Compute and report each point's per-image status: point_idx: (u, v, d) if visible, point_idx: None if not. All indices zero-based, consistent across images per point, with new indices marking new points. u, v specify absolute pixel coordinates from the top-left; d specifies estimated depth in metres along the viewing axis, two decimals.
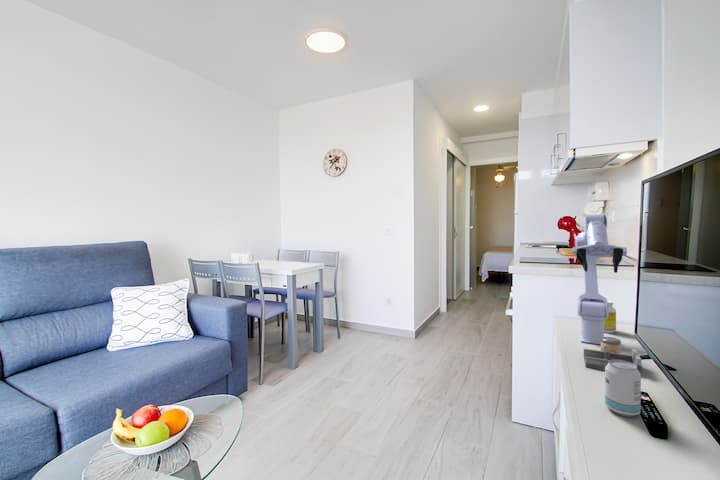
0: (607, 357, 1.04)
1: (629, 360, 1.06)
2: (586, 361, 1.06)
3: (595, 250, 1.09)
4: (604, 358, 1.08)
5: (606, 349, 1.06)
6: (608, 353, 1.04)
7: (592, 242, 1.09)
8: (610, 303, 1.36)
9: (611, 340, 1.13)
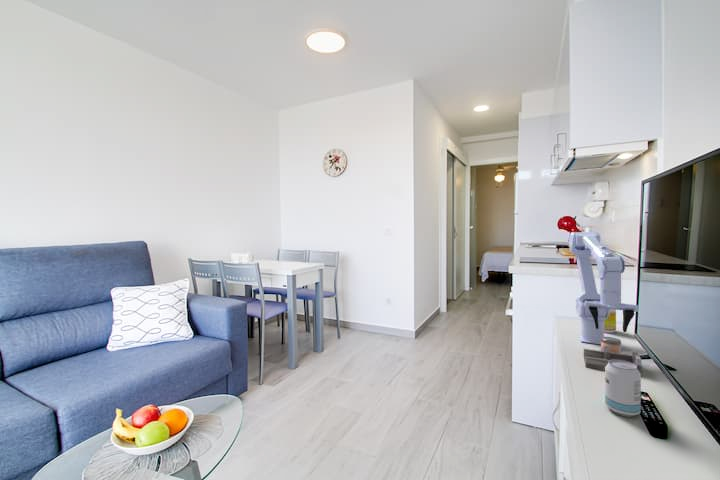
0: (607, 357, 1.04)
1: (629, 360, 1.06)
2: (586, 361, 1.06)
3: None
4: (604, 358, 1.08)
5: (606, 349, 1.06)
6: (608, 353, 1.04)
7: (605, 301, 1.11)
8: None
9: (611, 339, 1.13)
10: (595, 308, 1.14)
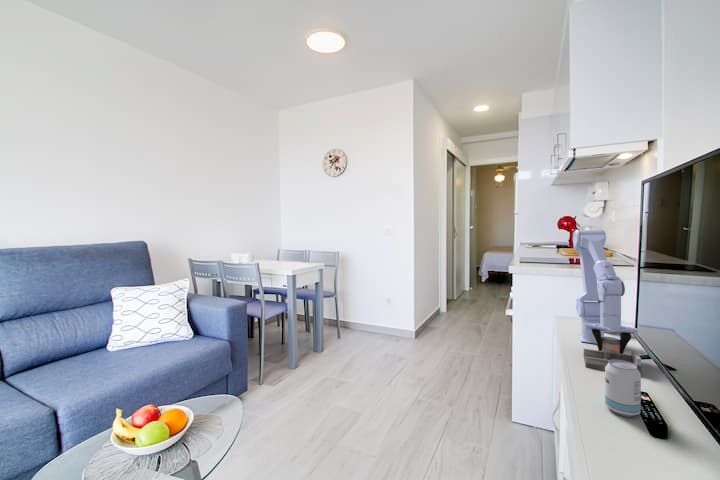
0: (607, 357, 1.04)
1: (629, 360, 1.06)
2: (586, 361, 1.06)
3: None
4: (604, 358, 1.08)
5: (606, 349, 1.06)
6: (608, 353, 1.04)
7: (605, 324, 1.12)
8: None
9: (611, 339, 1.13)
10: (595, 330, 1.15)
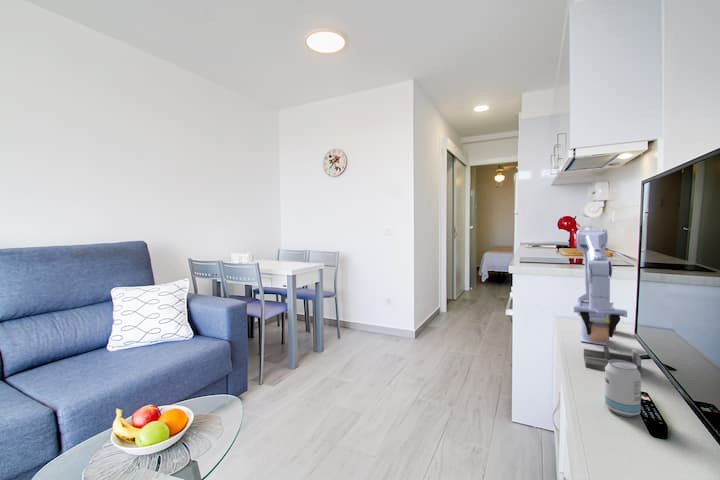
0: (607, 357, 1.04)
1: (629, 360, 1.06)
2: (586, 361, 1.06)
3: None
4: (604, 358, 1.08)
5: (606, 349, 1.06)
6: (608, 353, 1.04)
7: (594, 306, 1.09)
8: (610, 303, 1.36)
9: (600, 323, 1.10)
10: (584, 313, 1.12)
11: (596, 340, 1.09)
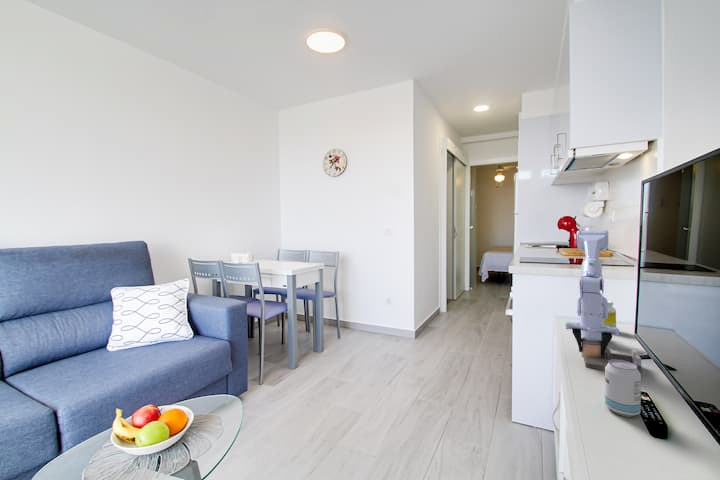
0: (608, 357, 1.04)
1: (629, 360, 1.06)
2: (586, 361, 1.06)
3: None
4: (605, 358, 1.08)
5: (607, 349, 1.06)
6: (609, 353, 1.04)
7: (585, 324, 1.07)
8: (610, 303, 1.36)
9: (591, 340, 1.08)
10: (575, 330, 1.10)
11: None
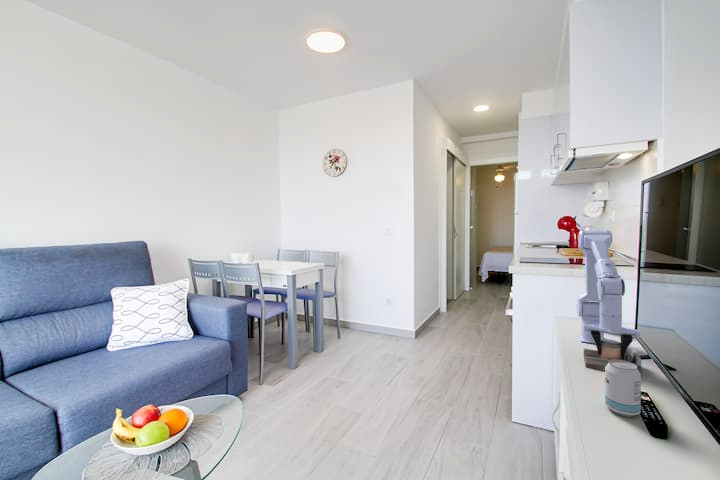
0: (629, 360, 1.01)
1: None
2: (586, 361, 1.06)
3: None
4: None
5: (627, 352, 1.03)
6: (630, 356, 1.01)
7: (605, 326, 1.05)
8: None
9: (611, 342, 1.05)
10: (594, 332, 1.07)
11: None
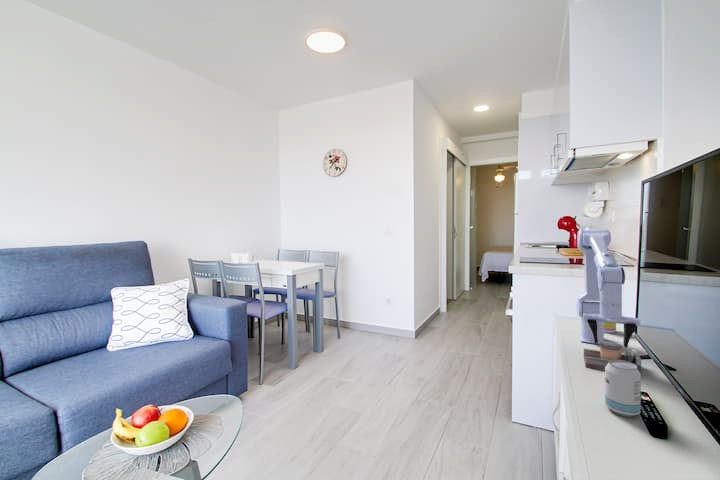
0: (629, 360, 1.01)
1: None
2: (586, 361, 1.06)
3: None
4: None
5: (628, 352, 1.03)
6: (630, 356, 1.01)
7: (605, 315, 1.04)
8: None
9: (611, 345, 1.05)
10: (594, 321, 1.07)
11: None
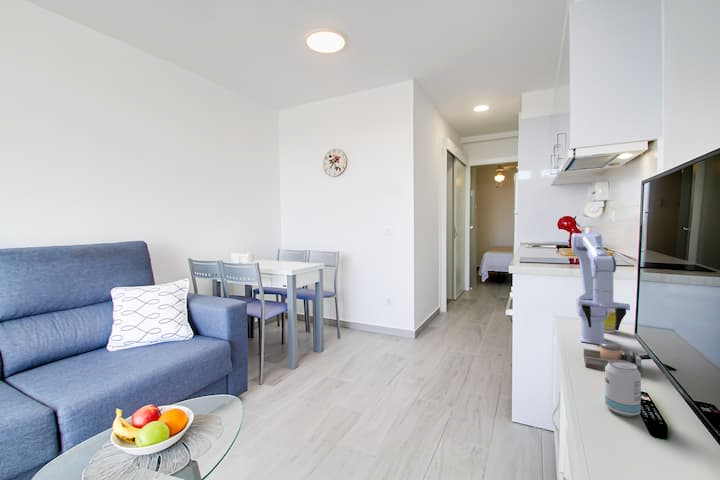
0: (628, 360, 1.01)
1: None
2: (586, 361, 1.06)
3: None
4: None
5: (627, 352, 1.03)
6: (629, 356, 1.01)
7: (597, 300, 1.13)
8: None
9: (611, 345, 1.05)
10: (588, 307, 1.16)
11: None
